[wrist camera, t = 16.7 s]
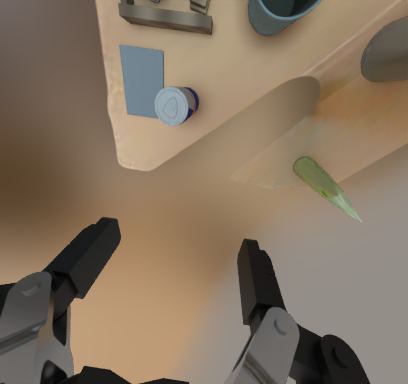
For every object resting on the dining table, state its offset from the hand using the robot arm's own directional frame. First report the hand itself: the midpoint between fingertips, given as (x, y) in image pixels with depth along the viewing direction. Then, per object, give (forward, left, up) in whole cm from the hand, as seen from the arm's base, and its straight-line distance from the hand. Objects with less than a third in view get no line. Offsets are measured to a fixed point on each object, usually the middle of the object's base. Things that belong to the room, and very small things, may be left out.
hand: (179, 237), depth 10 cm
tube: (-26, +6, -36) cm, 45 cm away
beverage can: (+6, -5, -36) cm, 37 cm away
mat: (+16, -7, -36) cm, 40 cm away
